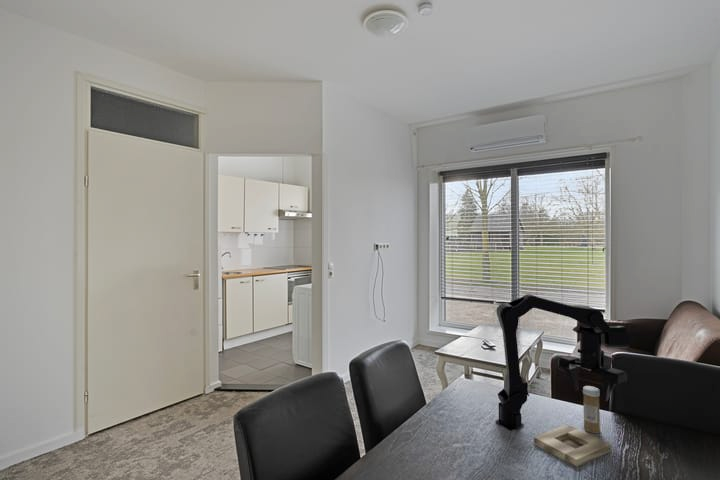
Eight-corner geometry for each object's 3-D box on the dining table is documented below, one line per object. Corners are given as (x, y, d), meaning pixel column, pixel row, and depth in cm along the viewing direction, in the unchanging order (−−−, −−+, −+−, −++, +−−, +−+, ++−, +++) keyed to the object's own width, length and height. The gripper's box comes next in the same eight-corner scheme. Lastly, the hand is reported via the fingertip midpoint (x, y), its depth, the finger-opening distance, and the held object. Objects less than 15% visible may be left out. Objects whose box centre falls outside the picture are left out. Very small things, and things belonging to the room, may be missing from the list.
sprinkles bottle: (603, 431, 117) (602, 388, 117) (596, 435, 114) (595, 392, 114) (587, 425, 121) (587, 384, 121) (580, 429, 118) (580, 387, 118)
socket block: (533, 443, 110) (533, 437, 110) (567, 430, 117) (567, 424, 117) (576, 467, 98) (576, 459, 98) (610, 451, 106) (610, 444, 106)
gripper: (637, 350, 113) (637, 401, 113) (577, 336, 129) (577, 381, 129) (616, 356, 108) (617, 409, 108) (557, 341, 124) (557, 387, 124)
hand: (591, 395), depth 117 cm, fingers open, 9 cm apart
